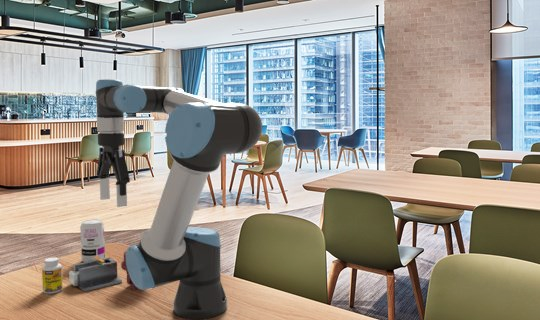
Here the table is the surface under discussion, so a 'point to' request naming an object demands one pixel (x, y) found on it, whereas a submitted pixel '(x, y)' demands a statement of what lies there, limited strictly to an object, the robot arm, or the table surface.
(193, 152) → the robot arm
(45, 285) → the supplement bottle
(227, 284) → the table surface
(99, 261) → the plunger
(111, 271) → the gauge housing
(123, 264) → the mechanical component
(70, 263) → the table surface
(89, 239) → the supplement can
